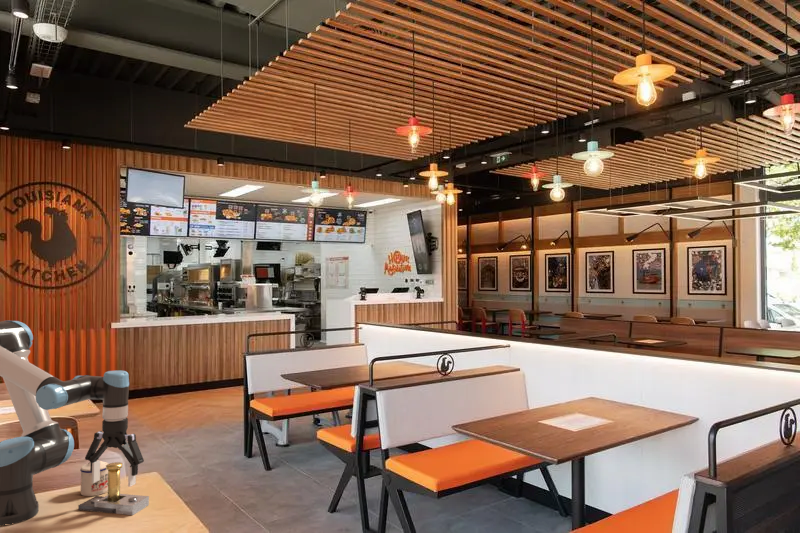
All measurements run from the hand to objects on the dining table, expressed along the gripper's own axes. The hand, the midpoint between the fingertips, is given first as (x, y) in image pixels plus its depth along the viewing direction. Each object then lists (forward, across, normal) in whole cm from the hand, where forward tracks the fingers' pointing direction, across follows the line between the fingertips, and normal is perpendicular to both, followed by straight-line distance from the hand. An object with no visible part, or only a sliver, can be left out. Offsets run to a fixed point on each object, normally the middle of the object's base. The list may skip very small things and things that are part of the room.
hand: (113, 483), depth 184 cm
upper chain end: (+8, -3, 0) cm, 8 cm away
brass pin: (+8, 0, 0) cm, 8 cm away
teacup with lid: (+8, +16, -12) cm, 21 cm away
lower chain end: (+8, +3, 0) cm, 8 cm away
